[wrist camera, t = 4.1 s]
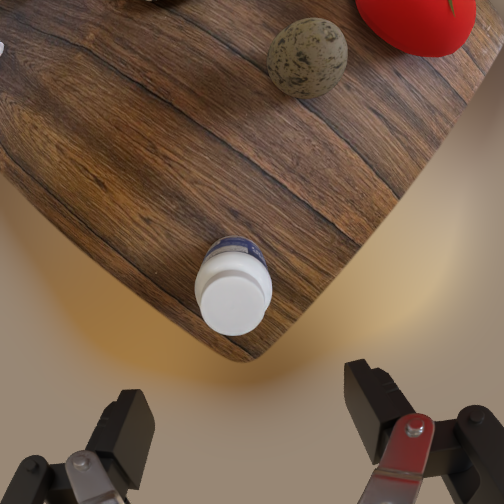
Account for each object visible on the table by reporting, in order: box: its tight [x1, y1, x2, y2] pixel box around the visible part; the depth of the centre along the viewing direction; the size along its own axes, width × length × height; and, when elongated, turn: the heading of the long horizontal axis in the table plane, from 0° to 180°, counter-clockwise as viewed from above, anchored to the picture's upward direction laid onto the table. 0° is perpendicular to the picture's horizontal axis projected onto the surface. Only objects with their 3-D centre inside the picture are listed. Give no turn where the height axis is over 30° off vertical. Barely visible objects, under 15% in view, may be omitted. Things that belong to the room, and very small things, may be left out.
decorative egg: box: [267, 18, 348, 99], centre depth 20 cm, size 6×6×10 cm
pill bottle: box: [195, 236, 272, 336], centre depth 23 cm, size 5×5×10 cm
